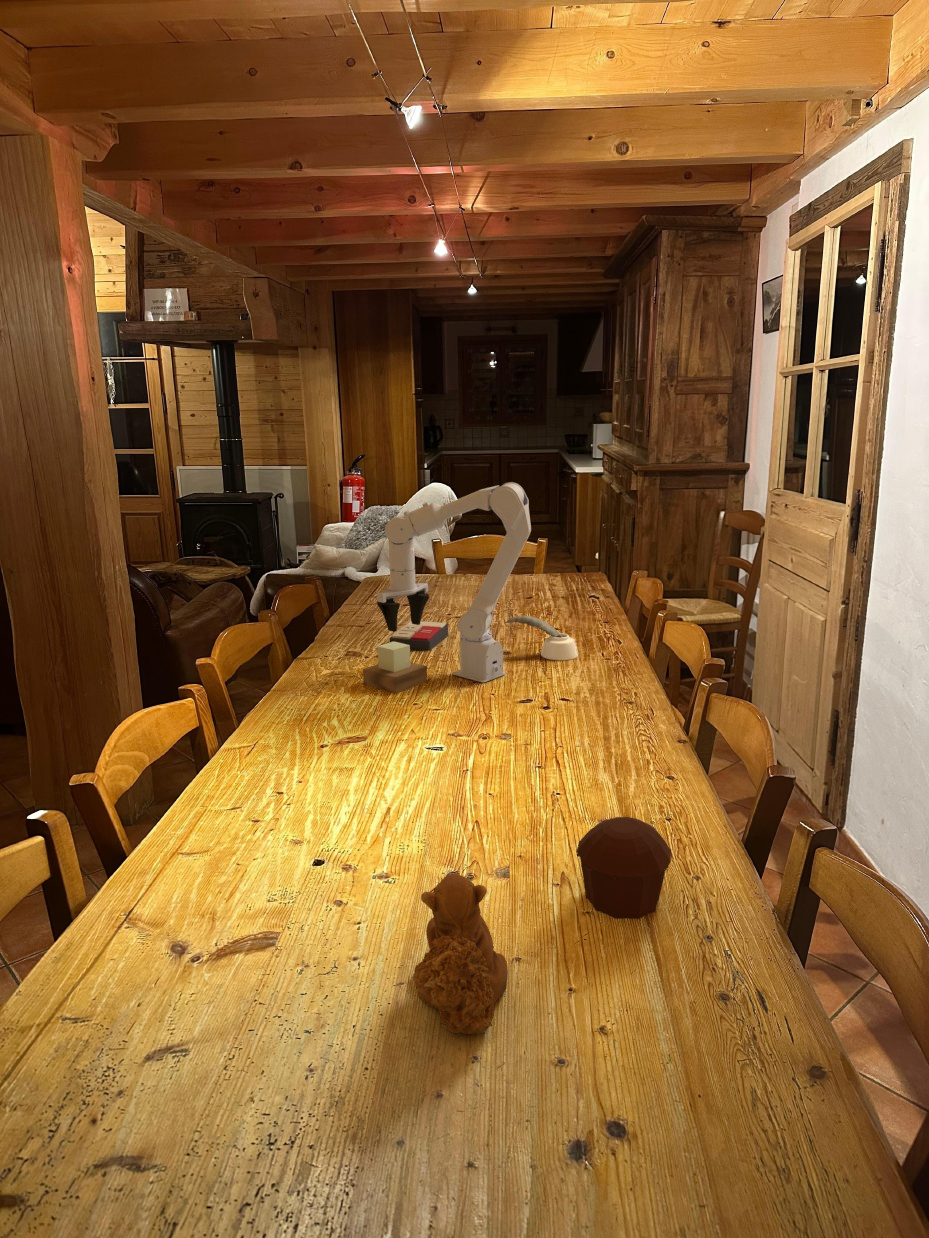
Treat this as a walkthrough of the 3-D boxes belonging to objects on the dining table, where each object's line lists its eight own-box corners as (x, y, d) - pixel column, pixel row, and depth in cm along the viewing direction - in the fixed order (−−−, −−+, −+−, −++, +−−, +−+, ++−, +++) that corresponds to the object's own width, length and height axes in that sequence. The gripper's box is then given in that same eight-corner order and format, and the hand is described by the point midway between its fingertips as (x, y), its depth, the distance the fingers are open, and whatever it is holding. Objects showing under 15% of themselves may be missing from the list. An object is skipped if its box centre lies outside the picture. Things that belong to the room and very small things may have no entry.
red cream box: (388, 635, 213) (409, 618, 227) (389, 651, 214) (410, 633, 228) (429, 638, 210) (448, 621, 223) (430, 654, 211) (448, 636, 225)
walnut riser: (427, 683, 187) (426, 666, 186) (396, 695, 179) (396, 677, 179) (394, 675, 193) (394, 658, 192) (363, 686, 186) (362, 669, 185)
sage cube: (410, 666, 186) (409, 645, 185) (394, 672, 182) (393, 650, 181) (394, 662, 189) (393, 641, 188) (378, 667, 185) (377, 646, 184)
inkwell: (580, 660, 201) (581, 620, 198) (505, 661, 201) (505, 621, 198) (575, 649, 210) (576, 611, 207) (504, 650, 210) (503, 612, 207)
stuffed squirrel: (506, 959, 92) (505, 852, 89) (515, 1055, 79) (516, 933, 76) (415, 961, 92) (412, 854, 89) (409, 1058, 79) (405, 935, 75)
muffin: (607, 864, 111) (609, 795, 109) (685, 893, 104) (689, 820, 102) (558, 904, 102) (559, 830, 100) (639, 939, 96) (642, 860, 93)
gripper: (412, 562, 197) (414, 618, 200) (366, 572, 186) (369, 631, 190) (434, 566, 192) (435, 623, 196) (388, 575, 182) (390, 636, 185)
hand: (404, 627), depth 192 cm, fingers open, 7 cm apart
